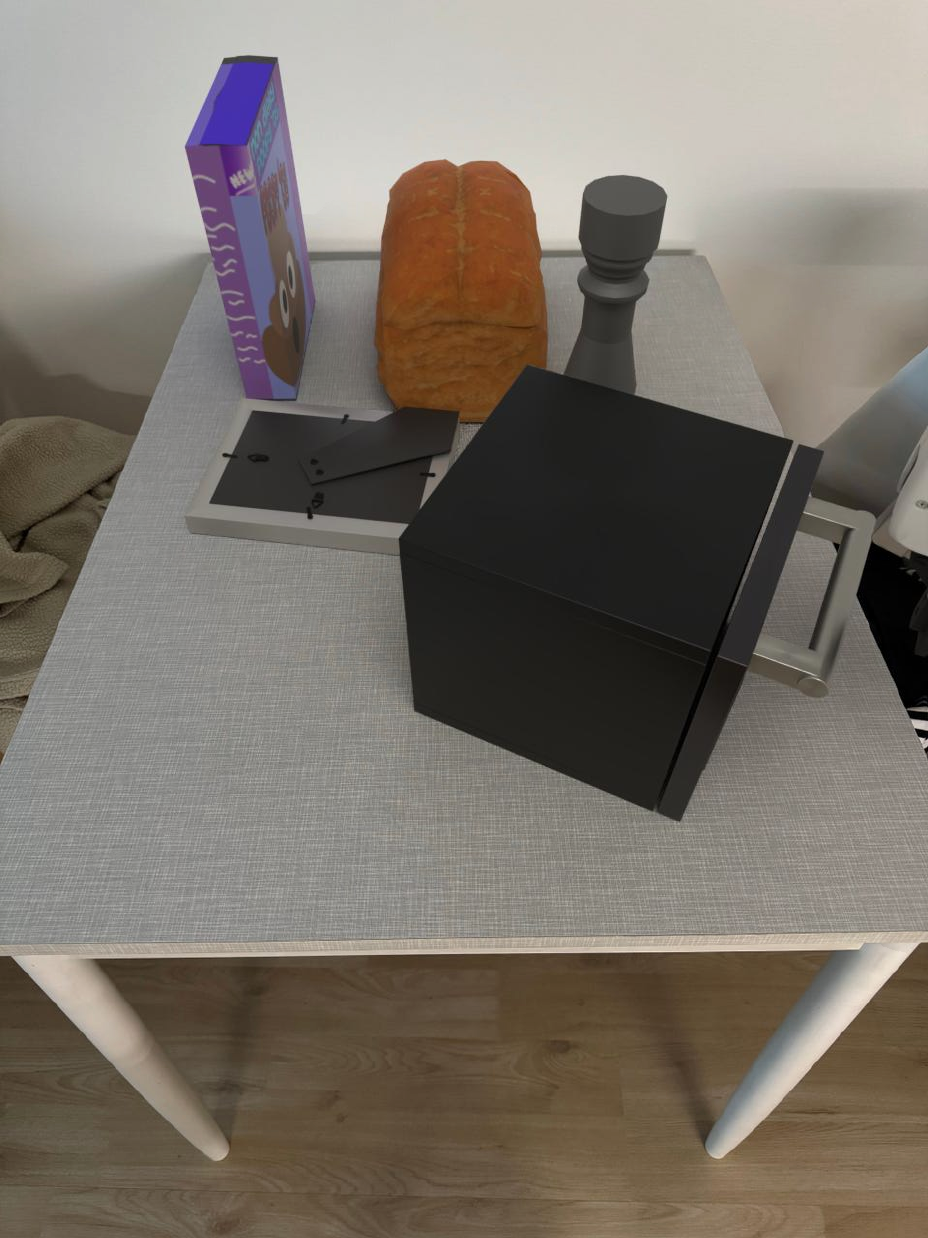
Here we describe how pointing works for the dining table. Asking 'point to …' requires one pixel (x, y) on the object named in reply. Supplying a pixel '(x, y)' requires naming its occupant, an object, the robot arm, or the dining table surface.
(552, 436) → the oven
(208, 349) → the dining table surface
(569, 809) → the dining table surface
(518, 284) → the bread
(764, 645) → the oven door
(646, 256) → the candle holder
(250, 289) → the cereal box
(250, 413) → the picture frame
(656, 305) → the dining table surface
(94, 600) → the dining table surface
